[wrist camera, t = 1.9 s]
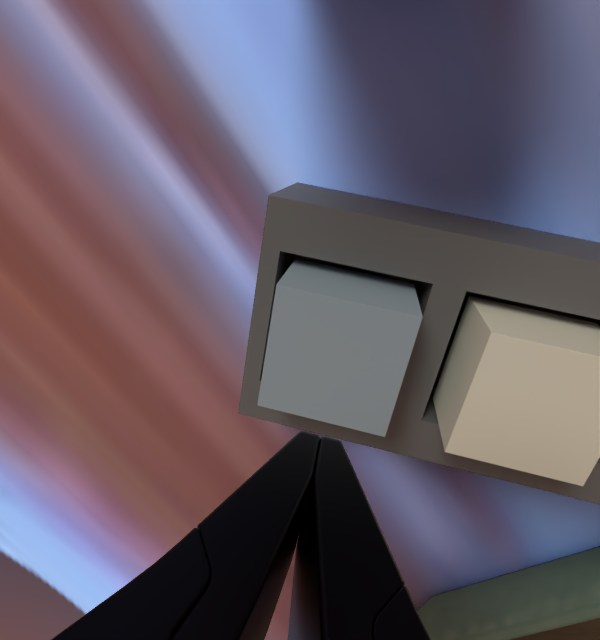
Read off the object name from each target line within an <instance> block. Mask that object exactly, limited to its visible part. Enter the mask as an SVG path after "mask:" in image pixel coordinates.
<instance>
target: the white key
mask: <svg viewBox="0 0 600 640" xmlns="http://www.w3.org/2000/svg"><path fill="white" fill-rule="evenodd" d="M433 401H434V405H435V410H436V415H437V419H438V424H439V428H440V433H441V437H442V442H443V446H444V451H445V452H447V453H451V454H455V455H459V456H463V457H467V458H471V459H475V460H479V461H483V462H487V463H491V464H495V465H499V466H503V467H507V468H511V469H515V470H519V471H523V472H527V473H531V474H535V475H539V476H543V477H547V478H551V479H555V480H559V481H563V482H567V483H572V484H576V485H580V486H583V485H584V484H585V482H586V480H587V478H588V477H589V475H590V473H591V472H592V470H593V468H594V466H595V465H596V463H597V461H598V459H599V458H600V326H599V325H598V324H596V323H593V322H588V321H584V320H579V319H574V318H570V317H565V316H561V315H556V314H551V313H547V312H542V311H537V310H533V309H528V308H523V307H519V306H514V305H510V304H505V303H500V302H496V301H491V300H486V299H482V298H477V297H473V296H469V297H468V300H467V303H466V306H465V309H464V311H463V314H462V317H461V320H460V323H459V325H458V328H457V331H456V334H455V337H454V340H453V342H452V345H451V348H450V351H449V354H448V357H447V359H446V362H445V365H444V368H443V371H442V373H441V376H440V379H439V382H438V385H437V388H436V390H435V393H434V396H433Z"/></svg>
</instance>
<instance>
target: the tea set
mask: <svg viewBox="0 0 600 640" xmlns="http://www.w3.org/2000/svg"><path fill="white" fill-rule="evenodd" d="M418 614H419V616H420V618H421V620H422V622H423V624H424V626H425V628H426V630H427V632H428V634H429V636H430V639H431V640H600V547H597V548H594V549H591V550H587V551H584V552H580V553H577V554H574V555H570V556H567V557H564V558H560V559H557V560H554V561H550V562H547V563H543V564H540V565H537V566H533V567H530V568H527V569H523V570H520V571H516V572H513V573H510V574H506V575H503V576H500V577H496V578H493V579H489V580H486V581H483V582H479V583H476V584H473V585H469V586H466V587H462V588H459V589H456V590H452V591H449V592H446V593H442V594H439V595H435V596H432V597H431V598H430V599H429V600H428V601H427V602H426V603H425V604H424V605H423V606H422V607H421V608H420V609H419V610H418Z"/></svg>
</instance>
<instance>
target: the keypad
mask: <svg viewBox="0 0 600 640" xmlns="http://www.w3.org/2000/svg"><path fill="white" fill-rule="evenodd" d="M295 259H301V260H306V261H310V262H315V263H320V264H324V265H329V266H333V267H338V268H343V269H347V270H352V271H357V272H361V273H366V274H371V275H375V276H380V277H384V278H389V279H394V280H398V281H403V282H408V283H412V284H414V286H415V290H416V294H417V297H418V301H419V305H420V309H421V312H422V316H423V318H422V321H421V324H420V327H419V330H418V334H417V337H416V340H415V343H414V346H413V349H412V353H411V356H410V359H409V362H408V365H407V369H406V372H405V375H404V378H403V381H402V384H401V388H400V391H399V394H398V397H397V400H396V404H395V407H394V410H393V413H392V416H391V419H390V423H389V426H388V429H387V432H386V435H385V437H383V436H379V435H375V434H371V433H367V432H363V431H359V430H354V429H350V428H346V427H342V426H338V425H334V424H330V423H326V422H322V421H318V420H314V419H310V418H306V417H302V416H298V415H294V414H290V413H286V412H282V411H278V410H274V409H270V408H266V407H262V406H258V405H257V404H258V398H259V391H260V385H261V379H262V373H263V366H264V360H265V354H266V347H267V341H268V335H269V329H270V322H271V316H272V310H273V303H274V297H275V291H276V285H277V283H278V282H279V280H280V279H281V278H282V276H283V275H284V274H285V272H286V271H287V270H288V268H289V267H290V266H291V264H292V263H293V262H294V260H295ZM469 296H473V297H477V298H482V299H486V300H491V301H496V302H500V303H505V304H510V305H514V306H519V307H523V308H528V309H533V310H537V311H542V312H547V313H551V314H556V315H561V316H565V317H570V318H574V319H579V320H584V321H588V322H593V323H596V324H598V325H599V326H600V243H598V242H593V241H588V240H583V239H578V238H573V237H568V236H563V235H558V234H553V233H548V232H543V231H538V230H533V229H527V228H522V227H517V226H512V225H507V224H502V223H497V222H492V221H487V220H482V219H477V218H472V217H467V216H462V215H457V214H452V213H447V212H442V211H437V210H432V209H427V208H422V207H417V206H412V205H407V204H402V203H397V202H392V201H387V200H382V199H377V198H372V197H367V196H362V195H357V194H352V193H347V192H342V191H337V190H332V189H327V188H322V187H317V186H312V185H307V184H302V183H295V184H293V185H291V186H288V187H286V188H284V189H282V190H279V191H277V192H275V193H272V194H270V195H269V196H268V204H267V211H266V218H265V225H264V232H263V240H262V247H261V254H260V261H259V268H258V275H257V283H256V290H255V297H254V304H253V311H252V319H251V326H250V333H249V340H248V347H247V355H246V362H245V369H244V376H243V383H242V391H241V398H240V405H239V412H238V413H239V414H243V415H247V416H251V417H255V418H259V419H262V420H266V421H270V422H274V423H278V424H282V425H286V426H290V427H294V428H298V429H302V430H306V431H310V432H314V433H318V434H322V435H326V436H330V437H334V438H338V439H342V440H346V441H350V442H354V443H358V444H362V445H366V446H370V447H374V448H378V449H382V450H386V451H390V452H394V453H398V454H402V455H406V456H410V457H414V458H418V459H421V460H425V461H429V462H433V463H437V464H441V465H445V466H449V467H453V468H457V469H461V470H465V471H469V472H473V473H477V474H481V475H485V476H489V477H493V478H497V479H501V480H505V481H509V482H513V483H517V484H521V485H525V486H529V487H533V488H537V489H541V490H545V491H549V492H553V493H557V494H561V495H565V496H569V497H573V498H577V499H580V500H584V501H588V502H592V503H596V504H600V458H599V459H598V461H597V463H596V465H595V466H594V468H593V470H592V472H591V473H590V475H589V477H588V478H587V480H586V482H585V484H584V485H583V486H580V485H576V484H572V483H567V482H563V481H559V480H555V479H551V478H547V477H543V476H539V475H535V474H531V473H527V472H523V471H519V470H515V469H511V468H507V467H503V466H499V465H495V464H491V463H487V462H483V461H479V460H475V459H471V458H467V457H463V456H459V455H455V454H451V453H447V452H445V451H444V446H443V442H442V437H441V433H440V428H439V424H438V419H437V415H436V410H435V405H434V401H433V396H434V393H435V390H436V388H437V385H438V382H439V379H440V376H441V373H442V371H443V368H444V365H445V362H446V359H447V357H448V354H449V351H450V348H451V345H452V342H453V340H454V337H455V334H456V331H457V328H458V325H459V323H460V320H461V317H462V314H463V311H464V309H465V306H466V303H467V300H468V297H469Z"/></svg>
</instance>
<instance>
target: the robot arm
mask: <svg viewBox="0 0 600 640" xmlns="http://www.w3.org/2000/svg"><path fill="white" fill-rule="evenodd" d="M299 531H300V532H299ZM298 536H299V537H298ZM297 540H298V542H297ZM296 544H297V548H296ZM295 548H296V556H295V565H294V576H293V587H292V598H291V609H290V620H289V631H288V640H431V639H430V636H429V634H428V632H427V630H426V628H425V626H424V624H423V622H422V620H421V618H420V616H419V614H418V611H417V609H416V607H415V605H414V603H413V600H412V598H411V596H410V594H409V591H408V589H407V587H405V586H404V581H403V578H402V576H401V574H400V572H399V569H398V567H397V565H396V563H395V561H394V558H393V556H392V554H391V552H390V549H389V547H388V545H387V543H386V540H385V538H384V536H383V534H382V532H381V529H380V527H379V525H378V523H377V520H376V518H375V516H374V514H373V511H372V509H371V507H370V505H369V503H368V500H367V498H366V496H365V494H364V491H363V489H362V487H361V485H360V482H359V480H358V478H357V476H356V474H355V471H354V469H353V467H352V465H351V462H350V460H349V458H348V456H347V453H346V451H345V449H344V447H343V445H342V443H341V441H339V440H336V439H332V438H328V437H321V439H320V437H319V436H318V435H316V434H312V433H308V432H304V431H301V432H299V433H298V434H297V435H296V436H295V437H294V438H293V439H292V440H290V441H289V442H288V443H287V444H286V445H285V446H284V447H283V448H282V449H281V450H280V451H278V452H277V453H276V454H275V455H274V456H273V457H272V458H271V459H270V460H269V461H267V462H266V463H265V464H264V465H263V466H262V467H261V468H260V469H259V470H258V471H257V472H255V473H254V474H253V475H252V476H251V477H250V478H249V479H248V480H247V481H246V482H245V483H243V484H242V485H241V486H240V487H239V488H238V489H237V490H236V491H235V492H234V493H233V494H231V495H230V496H229V497H228V498H227V499H226V500H225V501H224V502H223V503H222V504H221V505H219V506H218V507H217V508H216V509H215V510H214V511H213V512H212V513H211V514H210V515H209V516H207V517H206V518H205V519H204V520H203V521H202V522H201V523H200V524H199V525H198V526H197V528H194V529H193V530H192V531H191V532H190V533H189V534H188V535H186V536H185V537H184V538H183V539H182V540H181V541H180V542H179V543H178V544H177V545H175V546H174V547H173V548H172V549H171V550H170V551H168V552H167V553H166V554H165V555H164V556H163V557H161V558H160V559H159V560H158V561H157V562H156V563H154V564H153V565H152V566H150V567H149V568H148V569H146V570H145V571H144V572H143V573H141V574H140V575H139V576H137V577H136V578H135V579H133V580H132V581H131V582H129V583H128V584H127V585H125V586H124V587H123V588H121V589H120V590H119V591H117V592H116V593H114V594H113V595H112V596H110V597H109V598H108V599H106V600H105V601H103V602H102V603H101V604H99V605H98V606H97V607H95V608H94V609H92V610H91V611H90V612H88V613H87V614H86V615H84V616H83V617H81V618H80V619H79V620H77V621H76V622H75V623H73V624H72V625H70V626H69V627H68V628H66V629H65V630H63V631H62V632H61V633H60V634H58V635H57V636H55V637H54V638H52V639H51V640H264V639H265V636H266V633H267V630H268V628H269V625H270V622H271V619H272V616H273V613H274V610H275V607H276V604H277V601H278V599H279V596H280V593H281V590H282V587H283V584H284V581H285V578H286V575H287V572H288V570H289V567H290V564H291V561H292V558H293V554H294V551H295Z"/></svg>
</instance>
